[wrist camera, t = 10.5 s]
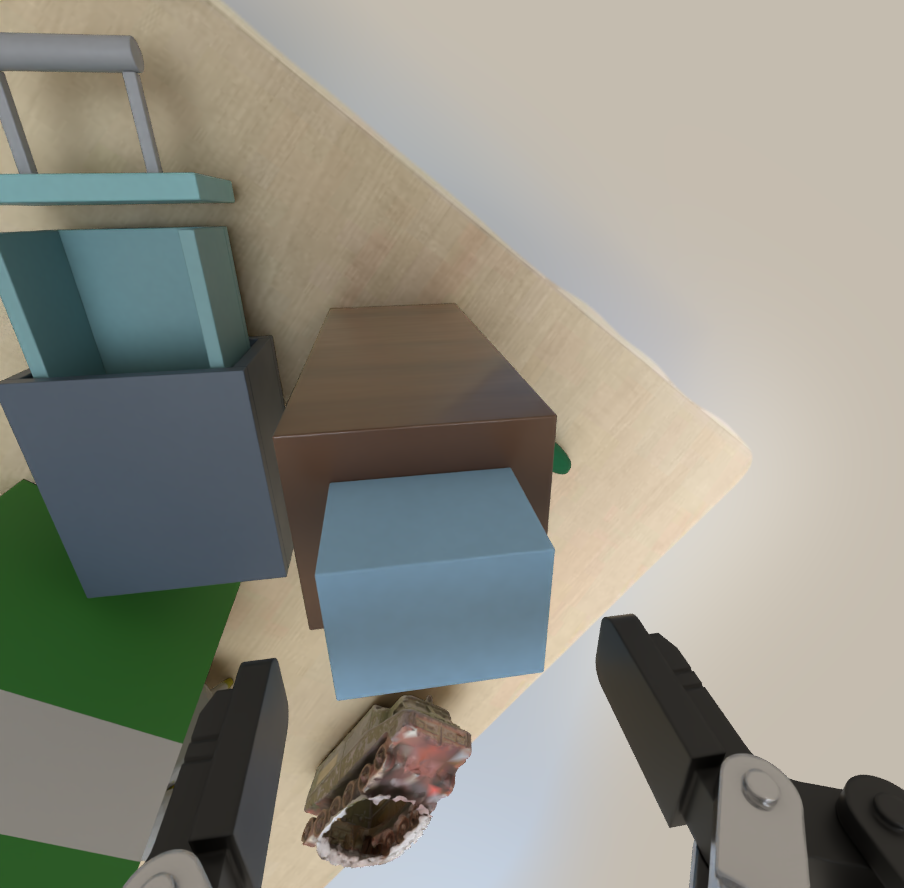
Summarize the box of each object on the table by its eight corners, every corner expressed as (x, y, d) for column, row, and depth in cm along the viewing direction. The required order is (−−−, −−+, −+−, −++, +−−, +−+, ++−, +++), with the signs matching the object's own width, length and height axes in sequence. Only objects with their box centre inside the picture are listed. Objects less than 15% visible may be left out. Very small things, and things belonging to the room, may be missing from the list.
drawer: (-19, 58, 26) (-140, 9, 20) (209, 62, 27) (161, 18, 21) (101, 401, 34) (42, 443, 28) (270, 391, 35) (249, 428, 29)
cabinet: (80, 344, 33) (-9, 384, 25) (272, 335, 35) (243, 370, 27) (143, 523, 39) (86, 598, 32) (302, 508, 41) (286, 577, 33)
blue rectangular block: (344, 590, 18) (336, 701, 14) (329, 482, 16) (313, 575, 12) (506, 572, 18) (544, 673, 14) (511, 466, 16) (555, 549, 12)
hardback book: (242, 577, 43) (111, 942, 21) (200, 631, 45) (42, 1016, 23) (23, 479, 36) (-481, 862, 15) (-15, 546, 38) (-511, 975, 17)
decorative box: (268, 753, 53) (247, 858, 44) (386, 640, 49) (388, 733, 40) (364, 788, 58) (362, 889, 50) (478, 689, 54) (499, 781, 45)
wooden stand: (329, 308, 34) (271, 436, 15) (455, 302, 35) (558, 415, 16) (342, 413, 38) (309, 630, 18) (456, 405, 39) (542, 602, 19)
